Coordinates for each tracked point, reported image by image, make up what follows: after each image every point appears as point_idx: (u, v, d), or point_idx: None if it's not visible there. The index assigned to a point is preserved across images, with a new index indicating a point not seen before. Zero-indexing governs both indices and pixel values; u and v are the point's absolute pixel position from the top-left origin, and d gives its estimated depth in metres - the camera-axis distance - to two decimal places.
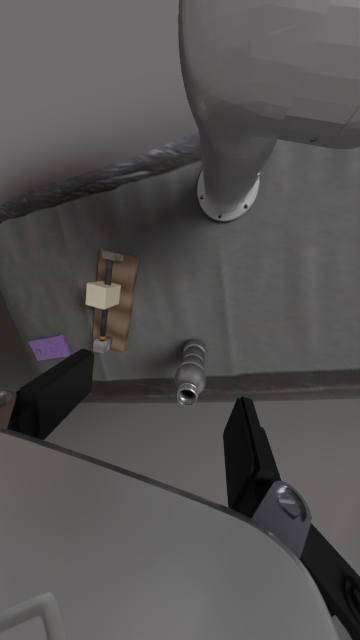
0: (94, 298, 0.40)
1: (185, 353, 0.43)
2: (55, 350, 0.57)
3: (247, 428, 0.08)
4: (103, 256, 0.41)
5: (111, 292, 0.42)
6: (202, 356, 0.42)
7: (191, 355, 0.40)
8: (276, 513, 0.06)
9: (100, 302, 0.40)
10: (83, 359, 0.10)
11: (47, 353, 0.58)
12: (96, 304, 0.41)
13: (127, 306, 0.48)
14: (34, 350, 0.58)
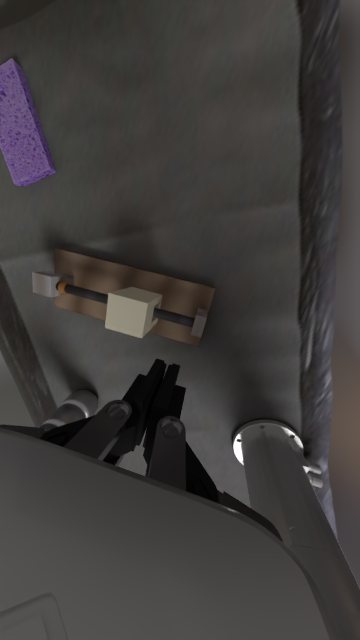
0: (122, 312, 0.22)
1: (69, 417, 0.32)
2: (15, 148, 0.26)
3: (163, 383, 0.10)
4: (197, 317, 0.24)
5: None
6: None
7: None
8: (165, 444, 0.07)
9: (116, 323, 0.22)
10: (162, 369, 0.11)
11: (1, 121, 0.26)
12: (112, 314, 0.22)
13: None
14: None
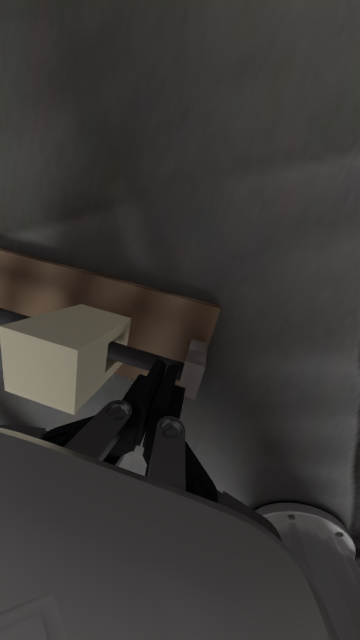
0: (31, 366, 0.11)
1: None
2: None
3: (163, 383, 0.10)
4: (188, 366, 0.13)
5: None
6: None
7: None
8: (164, 444, 0.07)
9: (23, 384, 0.11)
10: (163, 369, 0.11)
11: None
12: (13, 367, 0.11)
13: None
14: None
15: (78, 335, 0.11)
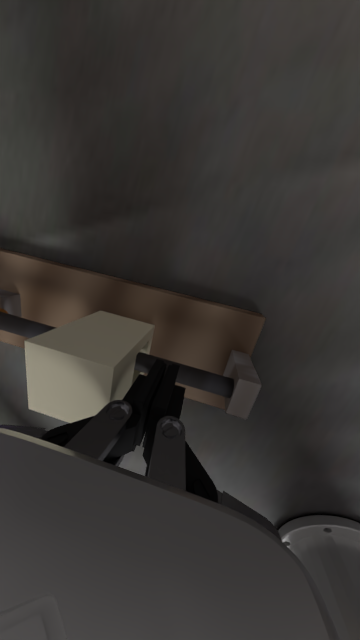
0: (59, 383, 0.10)
1: None
2: None
3: (163, 383, 0.10)
4: (242, 384, 0.12)
5: None
6: None
7: None
8: (165, 444, 0.07)
9: (49, 402, 0.10)
10: (163, 369, 0.11)
11: None
12: (38, 384, 0.10)
13: None
14: None
15: (108, 348, 0.10)
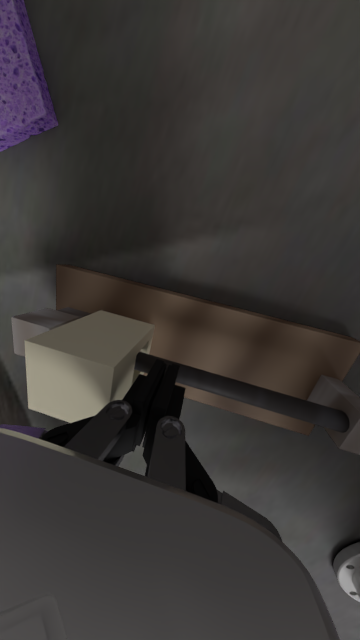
0: (59, 383, 0.10)
1: None
2: None
3: (162, 383, 0.10)
4: None
5: None
6: None
7: None
8: (165, 444, 0.07)
9: (49, 402, 0.10)
10: (163, 369, 0.11)
11: None
12: (38, 384, 0.10)
13: None
14: None
15: (109, 348, 0.10)
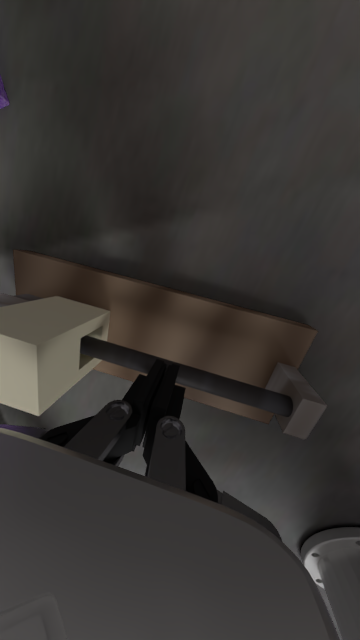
0: None
1: None
2: None
3: (163, 383, 0.10)
4: (306, 404, 0.11)
5: None
6: None
7: None
8: (164, 444, 0.07)
9: None
10: (163, 369, 0.11)
11: None
12: None
13: None
14: None
15: (42, 328, 0.10)
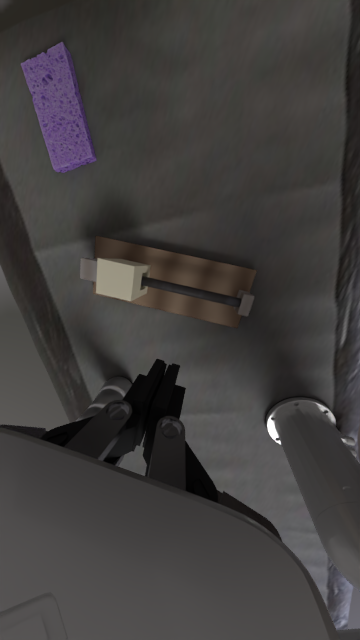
0: (111, 277, 0.23)
1: None
2: (58, 133, 0.27)
3: (162, 383, 0.10)
4: (245, 297, 0.25)
5: None
6: None
7: None
8: (165, 444, 0.07)
9: (106, 287, 0.24)
10: (163, 369, 0.11)
11: (45, 105, 0.26)
12: (101, 279, 0.24)
13: (167, 307, 0.32)
14: (44, 59, 0.24)
15: (130, 264, 0.24)
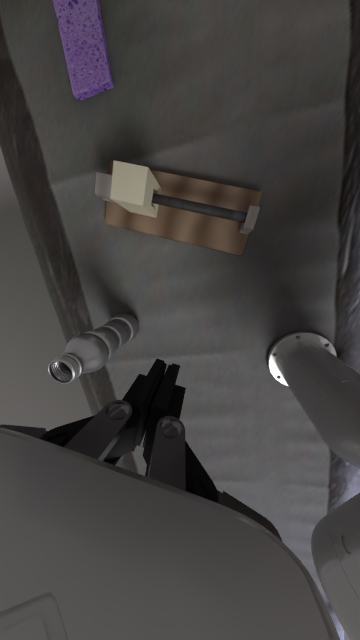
0: (125, 180, 0.25)
1: (119, 326, 0.34)
2: (79, 58, 0.29)
3: (163, 383, 0.10)
4: (251, 208, 0.26)
5: (140, 208, 0.28)
6: None
7: (118, 340, 0.32)
8: (165, 444, 0.07)
9: (120, 192, 0.25)
10: (162, 369, 0.11)
11: (69, 29, 0.28)
12: (116, 183, 0.25)
13: (175, 235, 0.33)
14: None
15: None
